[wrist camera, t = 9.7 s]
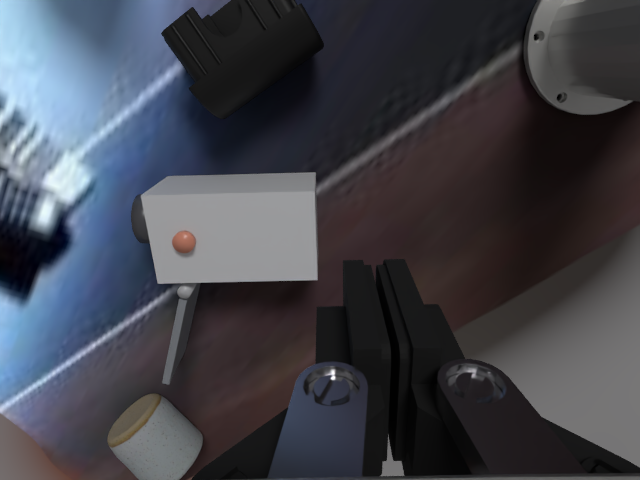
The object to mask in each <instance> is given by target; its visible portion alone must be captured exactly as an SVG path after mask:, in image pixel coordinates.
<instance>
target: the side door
mask: <svg viewBox="0 0 640 480" xmlns="http://www.w3.org/2000/svg"><path fill="white" fill-rule="evenodd" d="M200 284H201V283H182V284H181V286H180V287H179V289H178V291H177V294H178V296H179V297H180V299H179V302H178V307H177V312H176V317H175V322H174V327H173V332H172V337H171V342H170V347H169V351H168V356H167V361H166V366H165V371H164V376H163V381H162V383H164V384H168V385H169V384H170V382H171V380H172V378H173V376H174V373H175V371H176V369H177V367H178V365H179V363H180V361H181V359H182V357H183V355H184V353H185V350H186V347H187V342H188V338H189V333H190V329H191V324H192V320H193V315H194V311H195V306H196V302H197V297H198V293H199V288H200Z"/></svg>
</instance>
